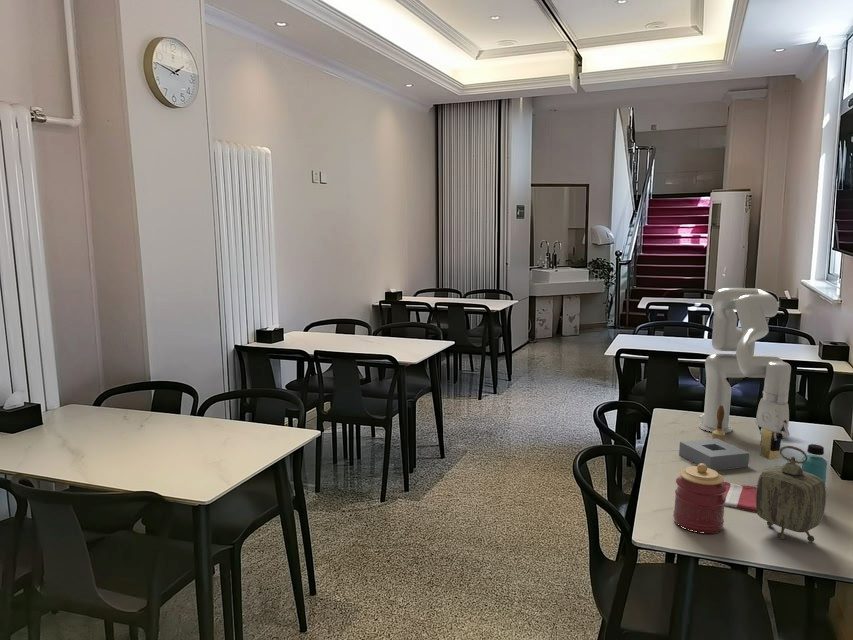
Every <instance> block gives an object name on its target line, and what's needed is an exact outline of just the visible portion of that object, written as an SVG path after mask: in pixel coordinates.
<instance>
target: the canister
mask: <svg viewBox="0 0 853 640" xmlns="http://www.w3.org/2000/svg"><path fill="white" fill-rule="evenodd" d="M722 482H725V478H724V476H723V475H721V474H720V473H718V471H717V470H712V469H710V468H707V466H706V465H705V464H703V463H700V464H698V465H696V466H695V465H694V466H687V467H686V468H684V469H681V470H679V476H677V478H676V479H675V484H676V485H677V487H676V489H675V490H674V493H675V494H674V498H675V499H674V510H673V514H672V515H673V521H674V520H675V521H674V523H675V522H676V523H677V524H679V525H680V526H682V527H684V528H686V529H689V530H693V531H697V532H704V533H714V534H717V533H716V532H718V533H720V532H722V530H723V527H724V525H725V520H724V519H725V518H724V516H725V507H726V506H725V501H726V499H725V497H724V492H725V491H726V490H727V487H726V485H725V484H724V483H722ZM676 523H675V524H676ZM677 524H676V525H677ZM680 526H679V527H680ZM719 531H720V532H719Z"/></svg>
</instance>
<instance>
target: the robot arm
mask: <svg viewBox="0 0 853 640" xmlns="http://www.w3.org/2000/svg"><path fill="white" fill-rule="evenodd" d="M711 298H712V299H711V300H712V301H711V305H712V310H713V324H712V334H711V335H712V336H711V346H712V348H713V350H716V351H719V352H720V351H721V352H735V353H713V354H710V355H708V356H707V357H706V359H705V360H704V361H705V362H704V366H705V378H706V379H705V380H706V382H705V383H706V384H705V396H704V397H705V398H704V408H703V409H704V411H703V413H702V414H701V415H699V416H698V419H700V420H701V422H700V423H699V424H698V428H700V429H701V430H703V431H705V430H706V431H705V432H709V431H710V432H709V433H712V432H713V431H716V430H717V424H718V420H717V411H718V408H719V406H720V405H722V406H723V408H724V418H723V421H722V431H723V432H724V433H725V434H728V433H727V432H730V433H732V432H733V427H732V426H731V425H729V422H730V421H729V420H730V412H731V411H730V409H731V398H732V387H731V385H730V383H729V382H728V380H727V378H746V377H747V378H753V379H754V378H760V379H761V378H763V379H764V384H763V390H762V397H761V398H760V401H759V403H758V407H757V411H756V416H755V417H756V418H755V425H756V426H757V427H758V430H759V434H760V435H761V436H760V441H761V440H762V431H763V428H764V429H767V430H769V431H772V432H773V436H774V440H772V446H771V451H779V452H780V449H781V444H782V443H781V441H782V440H784V439H785V438H787V437H790V432H789V423H790V409H789V403H788V401H789V391H790V382H791V373H792V366H791V365H790V364H789V363H788V362H786V361H783V359H781V358H780V357H777V356H766V355H763V356H762V355H761V356H760V355H754V354H755V347H756V341H758V340H761V339H762V338H764V337H766V336H767V335H768V334H769V332H770V331H769V329H770V328H769V326H768V322H767V319H766V318H773V317H775V316H776V315H777V314H778V312H779V303H778V300H777V298H776V297H775V296H774V295H772V294H771V293H769V292H767V291H765V290H763V289H760V288H756V287H755V288H754V287H753V288H748V287H747V288H745V287H724V288H719V289H717V290H716V291H715V292H714V293H713V295H712V297H711ZM734 310H736V312H735V311H734ZM738 320H739V321H738ZM738 322H739V324H740V327H737V325H738ZM731 431H732V432H731ZM777 433H779V435H778V436H777Z"/></svg>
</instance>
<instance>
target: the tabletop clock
mask: <svg viewBox="0 0 853 640" xmlns="http://www.w3.org/2000/svg"><path fill="white" fill-rule="evenodd" d="M785 449H789V450H794V451H797V452H800V453H801V454H802V455H804V457H805V458H806V459H805V461H802V460H796V457H795V456H791V457H790V458H789V457H787V456H785V455H784V454H783V453H782V452H783V450H785ZM779 455H780V456H781V457H782V458H783V459H784V460H786V463H783V464H781V465H776V466H773V467H771V468H768V469H766V470H763V471H762V472H761V473H760V474H759V476H758V477H759V478H758V480H757V485H756V487H757V490H756V509H757V512H756V513H757V515H758V517H760V519H762V520H764V521H766V524H767V526H769V527H773V526H774V525H775V526H777V527H780V528H781V530H780V532H779V533H777V537H778V538H779V539H780V538H781V540H783V539H785V537H786V535H785V533H784V532H785V530H789V531H791V532H797V533H805V534H806V535H807V538H806V539H807V540H809V542H810V541H811V542H814V541H815V537H814V536H813V535H810V533H809V531H811V530H812V529H814V528H816V527H818V526H819V525H820V524H821V522H822V520H823V517H824V515H825V514H824V513H825V510H826V509H825V508H826V504H827V503H826V502H827V501H826V498H827V494H826V493H827V492H826V489H825V485H826V484H825V485H824V482H823V480H821V479H820V478H819V477H817V476H815V475H813V474H810V473H807V472H804V471H802V466H800V464H801V465H802V463H805V462H806V461H807V459H808V458H807V455H808V454H806V453H805V451H804V450H802V449H801V448H799V447H796V446H793V445H785V446H781V447H780V450H779Z"/></svg>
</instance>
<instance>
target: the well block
mask: <svg viewBox="0 0 853 640" xmlns="http://www.w3.org/2000/svg"><path fill="white" fill-rule="evenodd" d="M726 442H727V441H726ZM726 442H724V441H721V440H719V439H717V438H716V439H711V438H708V439H695V440H684V441H679V452H678V454H679V456H681V457H683V459H686V460H688V461H690V462H691V461H692V463H693V462H694V463H693V464H695V463H696V464H695V465H697V464H700V463H703V464H705V465H706V466H707V468H710V469H712V470H715V471H722V470H721V469H723V470H729V469H730V470H733V469H739V468H740V469H741V468H748V467H749V461H750V460H749V459H750V453H749V452H747V451H745V450H743V449H741V448H739V447H737V446H735V445H733V444H730V443H726Z"/></svg>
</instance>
